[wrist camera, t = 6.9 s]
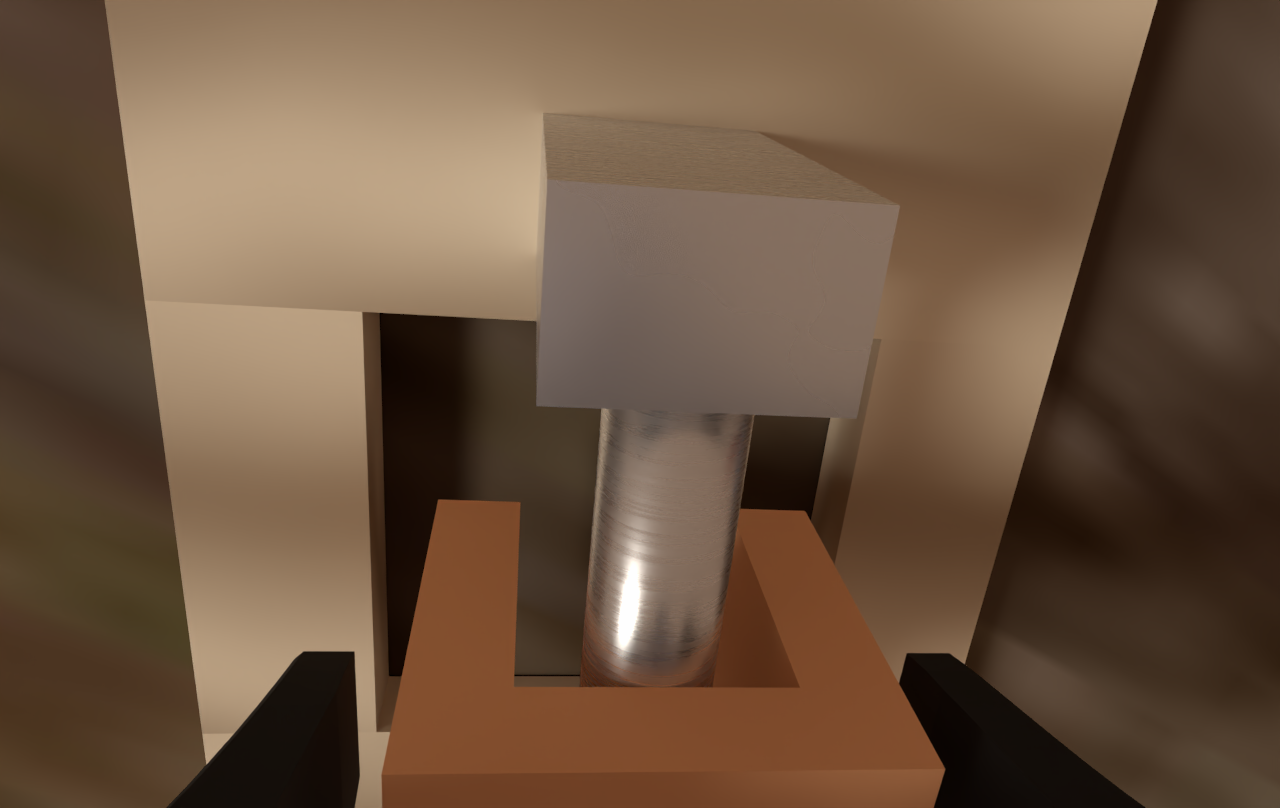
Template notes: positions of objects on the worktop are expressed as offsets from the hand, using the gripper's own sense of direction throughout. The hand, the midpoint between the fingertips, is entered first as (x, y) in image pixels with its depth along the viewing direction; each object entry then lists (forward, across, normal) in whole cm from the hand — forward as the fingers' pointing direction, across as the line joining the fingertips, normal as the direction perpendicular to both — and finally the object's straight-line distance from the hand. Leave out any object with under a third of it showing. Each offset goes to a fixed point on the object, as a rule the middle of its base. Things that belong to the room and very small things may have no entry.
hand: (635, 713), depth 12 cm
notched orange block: (+3, 0, 0) cm, 3 cm away
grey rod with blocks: (+4, 0, 0) cm, 4 cm away
